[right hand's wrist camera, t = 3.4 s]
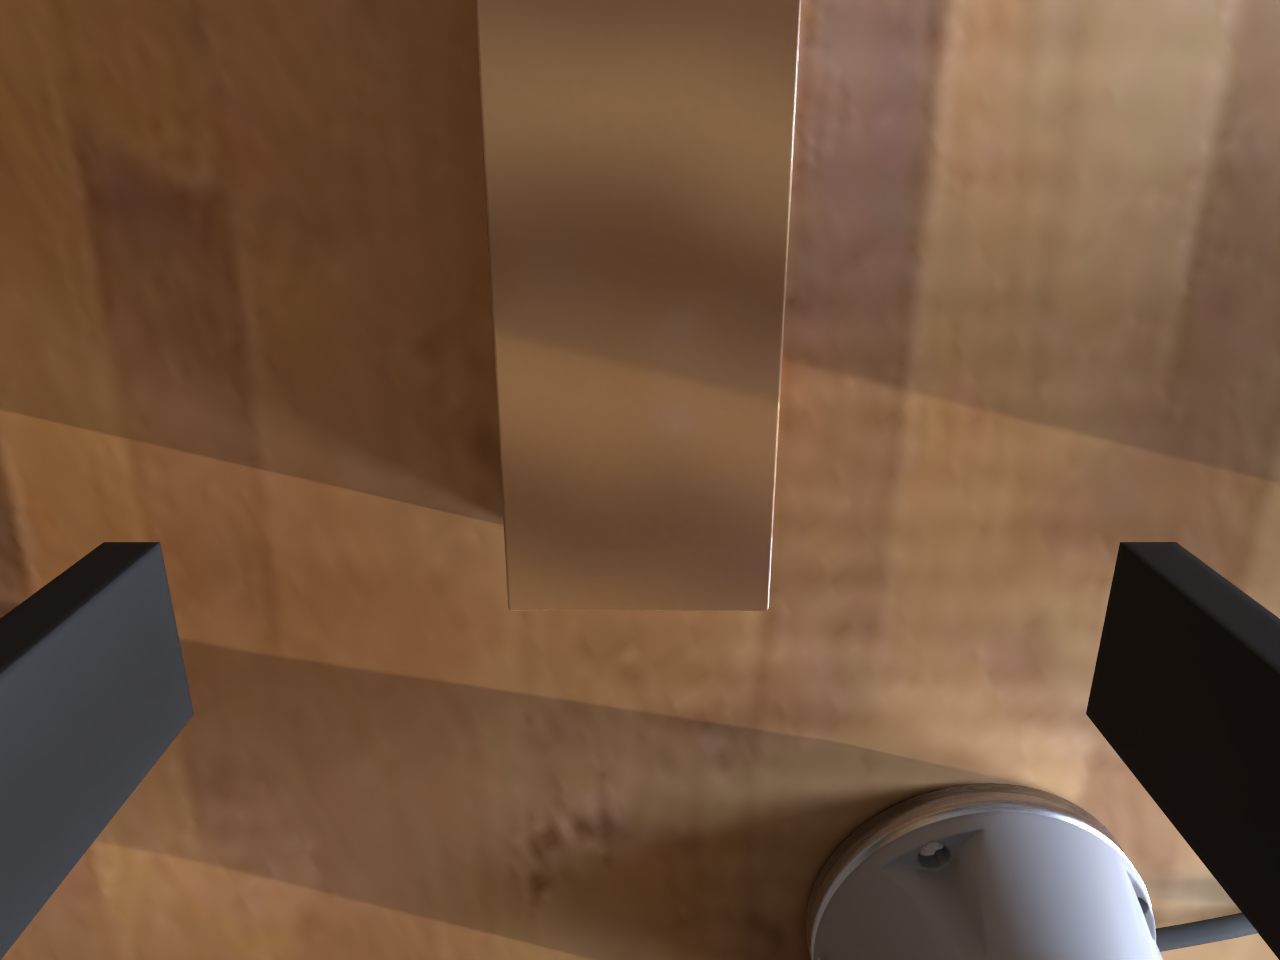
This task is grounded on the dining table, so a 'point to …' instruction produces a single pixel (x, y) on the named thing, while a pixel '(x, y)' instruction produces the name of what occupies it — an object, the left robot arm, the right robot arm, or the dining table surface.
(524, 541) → the beam
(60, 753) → the right robot arm
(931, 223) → the dining table surface
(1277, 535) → the dining table surface
